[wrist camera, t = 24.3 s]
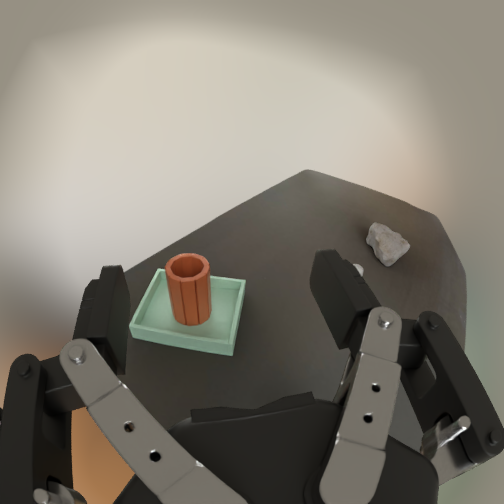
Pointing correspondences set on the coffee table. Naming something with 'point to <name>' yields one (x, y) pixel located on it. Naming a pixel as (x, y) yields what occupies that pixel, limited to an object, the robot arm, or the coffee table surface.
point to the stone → (386, 243)
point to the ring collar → (189, 288)
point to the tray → (191, 337)
